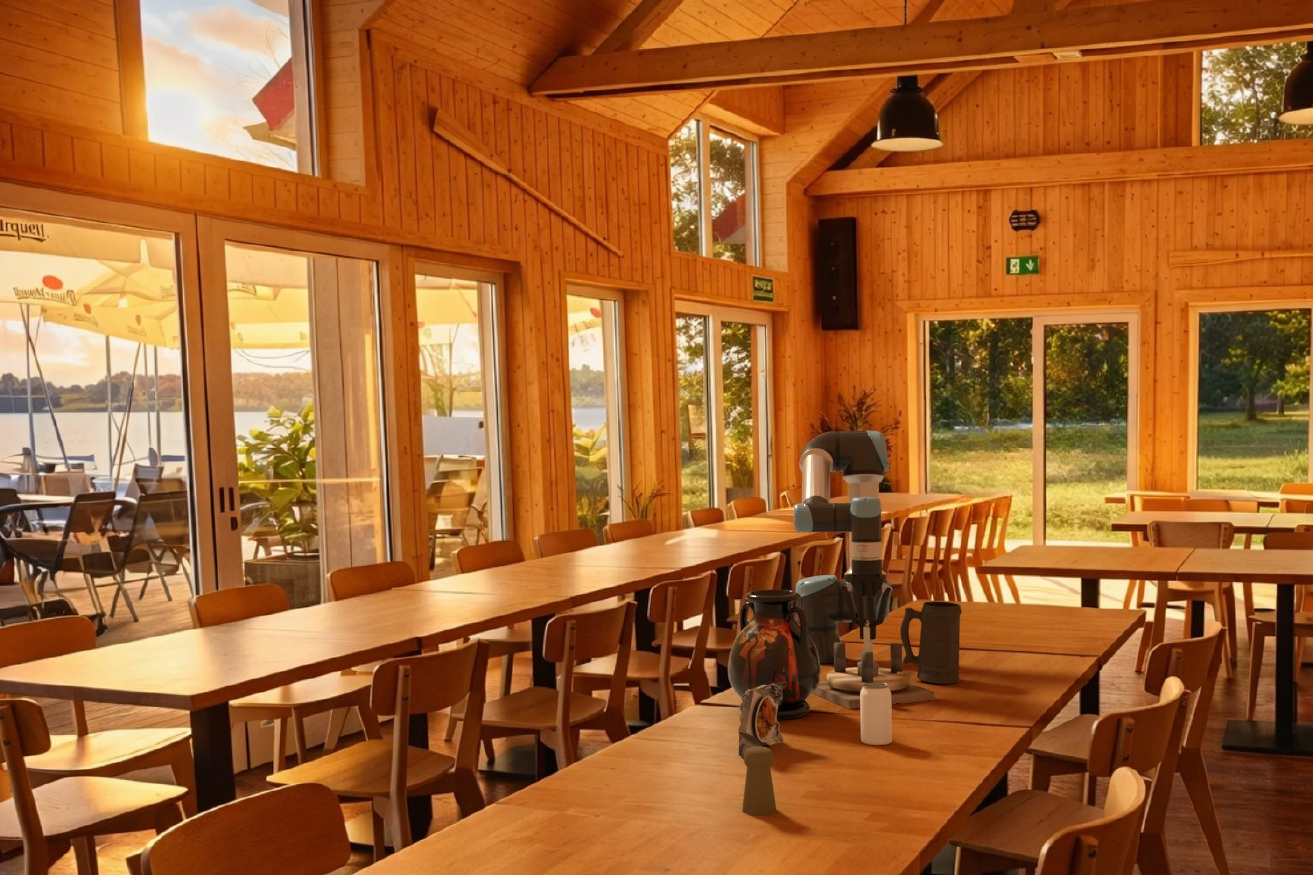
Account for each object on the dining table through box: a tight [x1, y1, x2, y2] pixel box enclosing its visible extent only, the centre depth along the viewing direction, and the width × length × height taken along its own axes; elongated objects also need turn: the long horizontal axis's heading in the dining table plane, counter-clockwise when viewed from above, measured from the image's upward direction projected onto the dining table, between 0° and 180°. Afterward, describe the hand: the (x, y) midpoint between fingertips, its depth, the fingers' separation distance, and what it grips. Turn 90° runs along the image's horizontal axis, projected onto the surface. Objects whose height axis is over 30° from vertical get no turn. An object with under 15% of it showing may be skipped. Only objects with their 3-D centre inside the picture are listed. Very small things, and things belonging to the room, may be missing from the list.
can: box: [859, 683, 893, 747], centre depth 272 cm, size 6×6×12 cm
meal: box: [738, 681, 788, 759], centre depth 268 cm, size 15×4×13 cm, turn 149°
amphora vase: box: [727, 589, 822, 721], centre depth 301 cm, size 22×22×28 cm
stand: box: [812, 679, 935, 710], centre depth 318 cm, size 23×23×2 cm
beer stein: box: [900, 601, 963, 685], centre depth 333 cm, size 15×11×20 cm
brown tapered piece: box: [741, 746, 777, 817], centre depth 227 cm, size 6×6×11 cm
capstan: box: [826, 641, 917, 692], centre depth 318 cm, size 20×20×9 cm
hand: (868, 652), depth 326 cm, fingers closed
